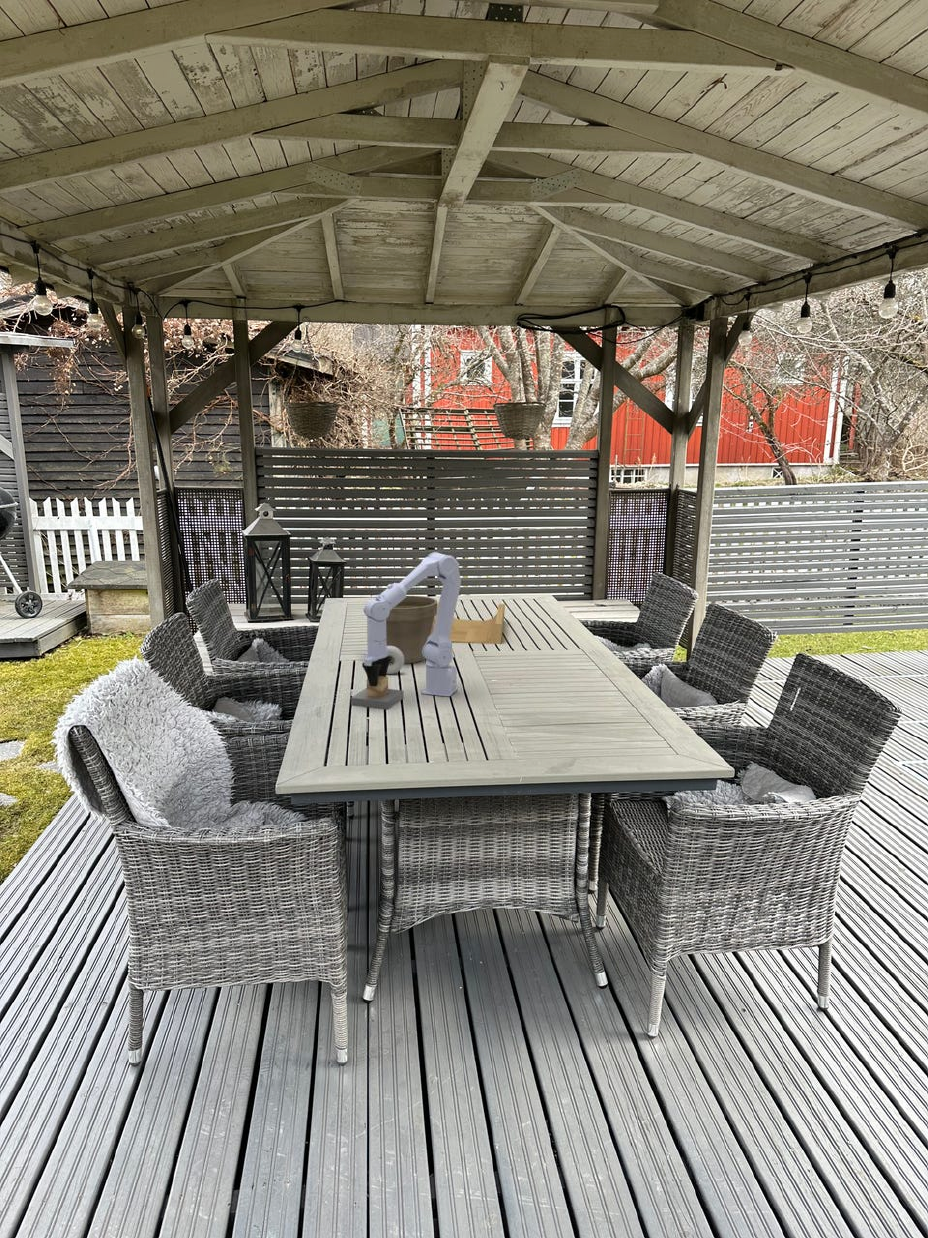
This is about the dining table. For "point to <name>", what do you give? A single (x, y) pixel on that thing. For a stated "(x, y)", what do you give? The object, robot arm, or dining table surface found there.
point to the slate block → (377, 699)
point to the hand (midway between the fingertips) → (377, 682)
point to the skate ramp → (477, 629)
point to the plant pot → (411, 626)
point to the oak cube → (378, 687)
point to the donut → (398, 660)
